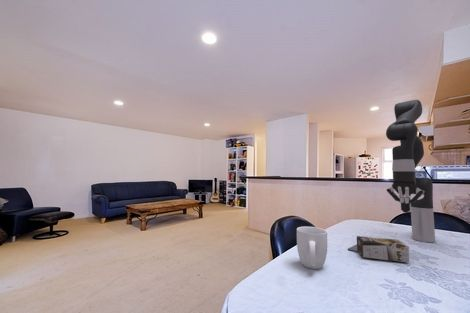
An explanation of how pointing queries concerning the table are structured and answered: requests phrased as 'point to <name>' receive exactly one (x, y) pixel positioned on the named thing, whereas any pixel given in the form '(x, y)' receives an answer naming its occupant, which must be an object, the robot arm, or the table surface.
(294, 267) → the table surface
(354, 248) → the mat
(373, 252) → the coffee box
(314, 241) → the mug
